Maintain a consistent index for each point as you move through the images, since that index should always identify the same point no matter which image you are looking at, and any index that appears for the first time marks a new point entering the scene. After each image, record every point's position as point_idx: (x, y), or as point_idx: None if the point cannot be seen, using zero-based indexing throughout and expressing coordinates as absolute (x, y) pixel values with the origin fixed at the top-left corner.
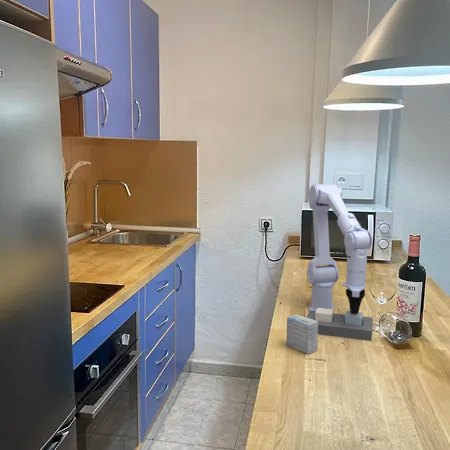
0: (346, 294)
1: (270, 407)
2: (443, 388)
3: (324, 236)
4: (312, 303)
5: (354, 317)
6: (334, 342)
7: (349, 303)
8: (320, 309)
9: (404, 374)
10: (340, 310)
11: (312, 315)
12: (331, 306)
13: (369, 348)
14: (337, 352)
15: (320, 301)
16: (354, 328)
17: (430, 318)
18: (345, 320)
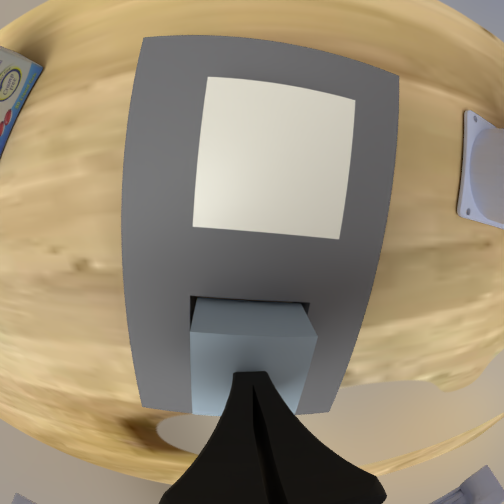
0: (165, 500)
1: None
2: (10, 423)
3: None
4: (498, 130)
5: (192, 380)
6: (71, 230)
7: (217, 427)
8: (312, 120)
9: (6, 391)
10: (479, 253)
11: (312, 79)
12: (491, 219)
13: (81, 359)
14: (4, 246)
15: (502, 165)
16: (138, 347)
17: (382, 463)
18: (194, 316)
